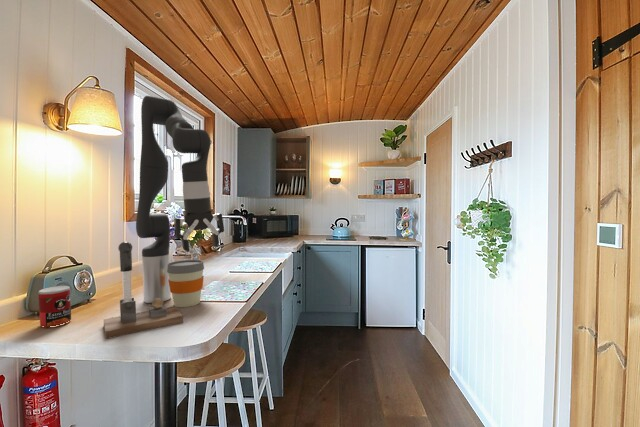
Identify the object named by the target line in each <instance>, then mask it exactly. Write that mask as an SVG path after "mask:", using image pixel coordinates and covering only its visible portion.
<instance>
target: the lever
mask: <svg viewBox="0 0 640 427" xmlns="http://www.w3.org/2000/svg"><path fill="white" fill-rule="evenodd" d="M117 248H118V251H119V266H120V267H119V269H120V272H121V273H122V275H121V276H122V277H121V278H122V294H123V295H122V297H123V298H122V299H123V301H122V303H124V302H130V301H132V298H133V297H132V296H133V294H132V274H131V272H132V271H133V258H132V251H133V244H132V243H131V242H129V241H123V242H121V243H120V244H118V246H117Z"/></svg>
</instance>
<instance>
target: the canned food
mask: <svg viewBox="0 0 640 427" xmlns="http://www.w3.org/2000/svg"><path fill="white" fill-rule="evenodd" d="M71 305H72V304H71V288H70V286H69V285H58V286H49V287H46V288H43V289H42V288H41V289H40V290H38V307H39V308H38V309H39V310H38V311H39V325H40V327H41V326H44V327H50V326H56V325H60V324H63V323H66V322H68V321H70V320H72V308H71V307H72V306H71ZM70 322H71V321H70Z"/></svg>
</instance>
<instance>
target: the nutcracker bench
mask: <svg viewBox="0 0 640 427" xmlns="http://www.w3.org/2000/svg"><path fill="white" fill-rule="evenodd" d="M122 301H123V298H122V299H119V310H120V312H119V314H120V315H119V316H114V317H110V318H104V319H103V329H104V335H105V336H106V337H105V339H106V338H107V339H110V338H109V337H112V338H115V337H114V336H116V337H121V336H124V335H130V334H134V333H139V332H144V331H149V330H154V329H157V328H162V327H163V328H164V327H167V326H172V325H176V324H181V323H183V322H184V316H183V314H182V313H181V312H180V310H178V309H177V307H176V306H174V305H173V306H167V307H166V306H165V305H164V301H163V300H162V299H160V298H156V299H154V300H153V301H152V303H151V307H149V308H148V310H147V311H142V312H137V306H136V305H137V304H136V303H137V302H136V300H135V299H134V297H132V301H130V302H124V303H122ZM120 335H121V336H120Z"/></svg>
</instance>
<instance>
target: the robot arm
mask: <svg viewBox="0 0 640 427" xmlns="http://www.w3.org/2000/svg"><path fill="white" fill-rule="evenodd" d="M140 110H141V112H140V114H141V118H140V119H141V152H140V163H139V166H140V167H139V195H138V204H137V213H136V220H135V230H136V234H137V237H138V238H140V239H149V238H151V239H152V238H153V239H154V238H156V240H155V241H154V242H152V243H150V244H149V245H148V246H145V247H143V248H142V250H141V258H142V259H141V263H142V264H141V265H142V283H143V290H142V291H143V302H144V303H146V304H150V303H151V304H152V301H153V300H154V299H156V298H160V299H162V300H163V302H166V301H169V300H170V299H171V297H172V294H171V292H170V287H169V281H168V280H169V274H168V272H167V268H168V264H169V263H170V245H171V244H170V241H171V240H170V238H171V237H170V236H171V235H170V234H171V230H170V229H171V228H170V227H171V225H170V224H171V223H170V217H169V216H168V214H166V213H165V212H155V213H153V212H152V213H151V210H152V205H153V202H154V201H155V199H156V197H158V195H159V194H160V192H161V191H162V190H163V189H164V187H165V186H166V183H167V181H168V179H169V178H168V177H169V161H168V158H167V156H166V154H165V152H164V151H163V149H162V147H161V146H160V145H159V142H158V140H157V138H156V135H155V130H154V124H155V125H158V126H164V127H165V131H166V132H167V134H168V135H169V136H170V137H171V138H172V142H171V143H172V147H173V149H174V150H175V151H176V152H177V153H180V154H196V157H195V158H194V159H193V160H189V161H186V162H184V163H182V164H181V173H182V174H181V176H182V196H183V206H184V207H183V208H184V217H181V218H180V217H179V218H178V217H175V218H173V228H174V230H173V231H174V232H173V233H174V237H175V238H176V239H178V240H181V242H182V249H183V250H184V251H185V252H186V253H188V252H190V245H189V242H190V241H189V239H188V238H189V237H190V235H191V234H192V233H193V231H199V230H208V231H210V233H212V235H211V236H212V245H213V248H218V246H219V245H220V237H219V236H220V234H221V233H223V232H225V225H224V219H223V214H222V213H220V212H217V213H214V214H213V212H212V205H211V193H210V186H209V181H208V169H207V167H208V158H209V154H210V149H211V142H212V141H211V137H210V135H209V133H208V131H206V130H205V129H198V128H197V129H196V128H194V126H192V125H191V123H189V122H188V121H187V120H186V119H185V118H184V117H183V114H182V113H181V111H180V109H179V107H178V106H177V104H176V103H175V102H174V101H173V100H170V99H167V98H163V97H157V96H152V95H145V96H144V97H143V98H142V101H141V109H140ZM213 220H214V221H216V225H217V228H216V227H215V226H214V225H213V224H212V221H213ZM183 223H185V224H186V225H187V226H186V227H185V228H184V231H183V233H182V232H181V226H182V225H183Z"/></svg>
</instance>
